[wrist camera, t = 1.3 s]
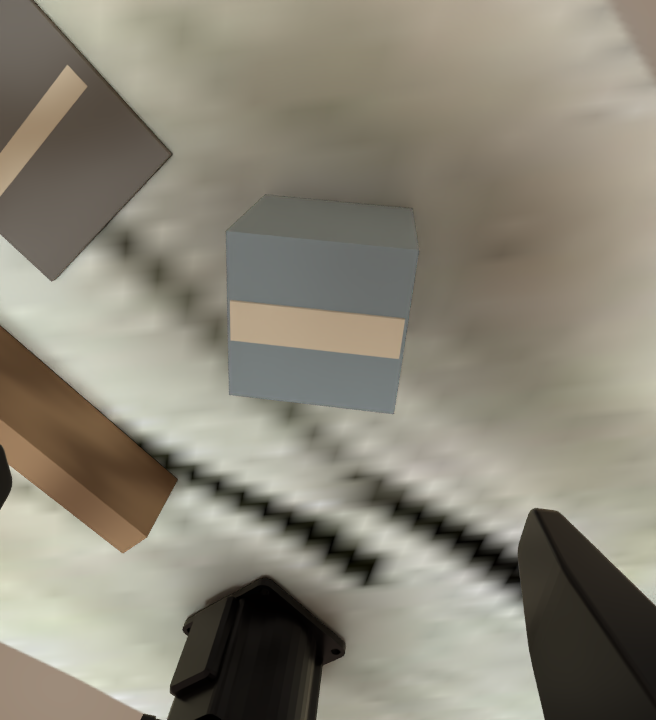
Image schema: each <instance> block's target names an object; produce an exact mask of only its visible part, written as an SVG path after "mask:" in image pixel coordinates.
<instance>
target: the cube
mask: <svg viewBox="0 0 656 720" xmlns="http://www.w3.org/2000/svg"><path fill="white" fill-rule="evenodd" d="M418 255H419V246H418V239H417V233H416V227H415V221H414V215H413V209H412V208H401V207H391V206H380V205H369V204H359V203H348V202H338V201H327V200H316V199H306V198H295V197H285V196H274V195H264V196H263V197H262V198H261V199H260V200H259V201H258V202H257V203H256V204H255V205H254V206H252V207H251V208H250V209H249V210H248V211H247V212H246V213H245V214H244V215H243V216H242V217H241V218H239V219H238V220H237V221H236V222H235V223H234V224H233V225H232V226H231V227H230V228H229V229H228V230H226V263H227V315H228V366H229V395H235V396H243V397H252V398H261V399H269V400H278V401H286V402H295V403H303V404H312V405H320V406H329V407H337V408H346V409H354V410H363V411H371V412H380V413H388V414H394V410H395V404H396V397H397V391H398V384H399V378H400V372H401V365H402V359H403V352H404V346H405V339H406V333H407V326H408V320H409V313H410V307H411V300H412V294H413V287H414V281H415V274H416V268H417V261H418Z"/></svg>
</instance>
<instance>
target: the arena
mask: <svg viewBox="0 0 656 720" xmlns="http://www.w3.org/2000/svg"><path fill="white" fill-rule="evenodd" d="M171 155H172V154H171V152H170V151H169V150H168V149H167V148H166V147H165V146H164V145H163V144H162V142H161V141H160V140H159V139H158V138H157V137H156V136H155V135H154V134H153V133H152V131H151V130H150V129H149V128H148V127H147V126H146V125H145V124H144V123H143V122H142V120H141V119H140V118H139V117H138V116H137V115H136V114H135V113H134V112H133V110H132V109H131V108H130V107H129V106H128V105H127V104H126V103H125V102H124V101H123V99H122V98H121V97H120V96H119V95H118V94H117V93H116V92H115V91H114V90H113V88H112V87H111V86H110V85H109V84H108V83H107V82H106V81H105V80H104V78H103V77H102V76H101V75H100V74H99V73H98V72H97V71H96V70H95V69H94V67H93V66H92V65H91V64H90V63H89V62H88V61H87V60H86V59H85V58H84V56H83V55H82V54H81V53H80V52H79V51H78V50H77V49H76V48H75V46H74V45H73V44H72V43H71V42H70V41H69V40H68V39H67V38H66V37H65V35H64V34H63V33H62V32H61V31H60V30H59V29H58V28H57V27H56V26H55V24H54V23H53V22H52V21H51V20H50V19H49V18H48V17H47V16H46V15H45V13H44V12H43V11H42V10H41V9H40V8H39V7H38V6H37V5H36V3H35V2H34V1H33V0H0V234H1V235H2V236H3V237H4V238H5V239H6V240H7V241H8V242H9V243H11V244H12V245H13V246H14V247H15V248H16V249H17V250H18V251H19V252H20V253H21V254H22V255H23V256H25V257H26V258H27V259H28V260H29V261H30V262H31V263H32V264H33V265H34V266H35V267H36V268H38V269H39V270H40V271H41V272H42V273H43V274H44V275H45V276H46V277H47V278H48V279H49V280H50V281H54V280H55V279H56V278H57V277H58V276H59V275H60V274H61V273H62V272H63V271H64V270H65V268H66V267H67V266H68V265H69V264H70V263H71V262H72V261H73V260H74V259H75V258H76V257H77V256H78V255H79V253H80V252H81V251H82V250H83V249H84V248H85V247H86V246H87V245H88V244H89V243H90V242H91V241H92V240H93V238H94V237H95V236H96V235H97V234H98V233H99V232H100V231H101V230H102V229H103V228H104V227H105V226H106V225H107V224H108V222H109V221H110V220H111V219H112V218H113V217H114V216H115V215H116V214H117V213H118V212H119V211H120V210H121V209H122V207H123V206H124V205H125V204H126V203H127V202H128V201H129V200H130V199H131V198H132V197H133V196H134V195H135V194H136V192H137V191H138V190H139V189H140V188H141V187H142V186H143V185H144V184H145V183H146V182H147V181H148V180H149V179H150V178H151V176H152V175H153V174H154V173H155V172H156V171H157V170H158V169H159V168H160V167H161V166H162V165H163V164H164V163H165V161H166V160H167V159H168V158H169V157H170V156H171ZM0 444H1V445H2V446H3V448H4V450H5V454H6V458H7V461H8V464H9V465H10V466H11V467H13V468H14V469H15V470H16V471H18V472H19V473H20V474H21V475H23V476H24V477H25V478H27V479H28V480H29V481H30V482H32V483H33V484H34V485H36V486H37V487H38V488H39V489H41V490H42V491H43V492H45V493H46V494H47V495H48V496H50V497H51V498H52V499H54V500H55V501H56V502H57V503H59V504H60V505H61V506H63V507H64V508H65V509H66V510H68V511H69V512H70V513H72V514H73V515H74V516H75V517H77V518H78V519H79V520H80V521H82V522H83V523H84V524H86V525H87V526H88V527H89V528H91V529H92V530H93V531H95V532H96V533H97V534H98V535H100V536H101V537H102V538H104V539H105V540H106V541H107V542H109V543H110V544H111V545H113V546H114V547H115V548H116V549H118V550H119V551H120V552H122V553H124V552H126V551H127V550H129V549H130V548H132V547H133V546H135V545H136V544H138V543H139V542H141V541H142V540H144V539H145V538H147V536H148V534H149V533H150V531H151V529H152V527H153V525H154V523H155V521H156V519H157V518H158V516H159V514H160V512H161V510H162V508H163V506H164V504H165V503H166V501H167V499H168V497H169V495H170V493H171V491H172V489H173V488H174V486H175V484H176V482H177V479H176V478H175V477H174V476H173V475H172V474H171V473H169V472H168V471H167V470H166V469H165V468H164V467H162V466H161V465H160V464H159V463H158V462H157V461H156V460H154V459H153V458H152V457H151V456H150V455H149V454H147V453H146V452H145V451H144V450H143V449H142V448H141V447H139V446H138V445H137V444H136V443H135V442H134V441H132V440H131V439H130V438H129V437H128V436H127V435H126V434H124V433H123V432H122V431H121V430H120V429H119V428H117V427H116V426H115V425H114V424H113V423H112V422H111V421H109V420H108V419H107V418H106V417H105V416H104V415H102V414H101V413H100V412H99V411H98V410H97V409H96V408H94V407H93V406H92V405H91V404H90V403H89V402H87V401H86V400H85V399H84V398H83V397H82V396H81V395H79V394H78V393H77V392H76V391H75V390H74V389H72V388H71V387H70V386H69V385H68V384H67V383H66V382H64V381H63V380H62V379H61V378H60V377H59V376H57V375H56V374H55V373H54V372H53V371H52V370H51V369H49V368H48V367H47V366H46V365H45V364H44V363H42V362H41V361H40V360H39V359H38V358H37V357H36V356H34V355H33V354H32V353H31V352H30V351H29V350H27V349H26V348H25V347H24V346H23V345H22V344H20V343H19V342H18V341H17V340H16V339H15V338H14V337H12V336H11V335H10V334H9V333H8V332H7V331H5V330H4V329H3V328H2V327H1V326H0Z"/></svg>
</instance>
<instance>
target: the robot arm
mask: <svg viewBox="0 0 656 720" xmlns="http://www.w3.org/2000/svg"><path fill="white" fill-rule="evenodd" d="M11 487H12V476H11V472H10V469H9V465H8V461H7V458H6V454H5V450H4V448H3V446H2V445H1V444H0V509H1V507H2V506H3V504H4V502H5V500H6V499H7V497H8V495H9V493H10V491H11ZM518 564H519V572H520V581H521V589H522V597H523V606H524V614H525V623H526V631H527V639H528V646H529V652H530V657H531V662H532V667H533V671H534V675H535V679H536V684H537V688H538V692H539V697H540V701H541V705H542V709H543V714H544V718H545V720H656V606H655V605H654V604H653V603H652V602H651V601H650V600H649V599H648V598H647V597H646V596H645V595H644V594H643V593H642V592H641V591H640V590H639V589H638V588H637V587H636V586H635V585H634V584H633V583H632V582H631V581H630V580H629V579H628V578H627V577H626V576H625V575H624V574H623V573H622V572H621V571H620V570H618V569H617V568H616V567H615V566H614V565H613V564H612V563H611V562H610V561H609V560H608V559H607V558H606V557H605V556H604V555H603V554H602V553H601V552H600V551H599V550H598V549H597V548H596V547H595V546H594V545H593V544H592V543H591V542H590V541H589V540H588V539H587V538H586V537H585V536H584V535H583V534H581V533H580V532H579V531H578V530H577V529H576V528H575V527H574V526H573V525H572V524H571V523H570V522H569V521H568V520H567V519H566V518H565V517H564V516H563V515H562V514H561V513H559V512H558V511H555V510H547V509H539V508H534V509H532V510H531V511H530V512H529V514H528V517H527V520H526V523H525V526H524V529H523V532H522V535H521V539H520V542H519V546H518ZM182 630H183V632H184V633H185V634H186V635H187V636H188V638H187V640H186V643H185V646H184V649H183V651H182V654H181V657H180V660H179V662H178V665H177V668H176V671H175V673H174V676H173V679H172V681H171V684H170V693H171V694H172V695H173V696H175V698H174V701H173V703H172V706H171V709H170V712H169V715H168V718H167V720H316V716H317V708H318V700H319V691H320V683H321V674H322V666H323V665H325V664H327V663H329V662H331V661H334V660H336V659H338V658H341V657H342V656H344V655H345V649H346V645H345V643H344V641H342V640H341V639H340V638H339V637H338V636H337V635H335V634H334V633H333V632H332V631H331V630H329V629H328V628H327V627H326V626H325V625H324V624H322V623H321V622H320V621H319V620H318V619H317V618H315V617H314V616H313V615H312V614H311V613H310V612H308V611H307V610H306V609H305V608H304V607H302V606H301V605H300V604H299V603H298V602H297V601H295V600H294V599H293V598H292V597H291V596H290V595H288V594H287V593H286V592H285V591H284V590H283V589H281V588H280V587H279V586H278V585H277V584H275V583H274V582H273V581H272V580H270V579H267V578H262V579H259V580H257V581H255V582H253V583H252V584H250V585H248V586H246V587H244V588H242V589H241V590H239V591H237V592H235V593H233V594H232V595H230V596H227V597H225V598H223V599H221V600H220V601H218V602H216V603H214V604H212V605H211V606H209V607H207V608H205V609H203V610H202V611H200V612H198V613H197V614H195V615H194V616H192V617H190V618H188V619H187V620H186V621H185V623H184V626H183V629H182ZM141 720H160V719H156V716H153V715H148V714H143V716H142V718H141Z"/></svg>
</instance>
